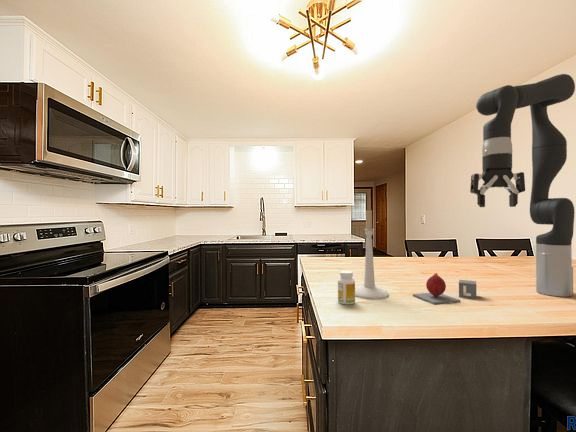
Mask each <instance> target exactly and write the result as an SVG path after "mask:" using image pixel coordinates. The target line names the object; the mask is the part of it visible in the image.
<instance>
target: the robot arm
mask: <svg viewBox="0 0 576 432" xmlns="http://www.w3.org/2000/svg"><path fill="white" fill-rule="evenodd" d="M575 90H576V84H575V81H574V77H572V76H571V75H569V74H568V73H562V74H557V75H553V76H551V77H548V78H546V79H543V80H540V81H537V82H534V83H528V84H520V85H514V86H513V85H510V84H508V85H503V86H500V87H498V88H495V89H493V90H491V91H490V90H489V91H487V92H486V93H483V94H482V95H480V96H479V98H478V99H477V100H476V105H475V107H476V110H477V112H478V113H479V114H480V115H482V116H485V117H486V116H487V117H489V116H492V115H495V116H494V117H493V118H492V119H490V120H488V121H487V122H485V123H484V125H483V127H482V128H483V129H482V138H483V140H482V142H483V144H482V147H481V148H482V150H481V151H482V152H481V153H482V154H481V155H482V158H481V159H482V162H481V164H482V174H481V173H478V172H477V173H476V172H475V173H473V174H471V176H470V188H469V189H470V193H471V194H475V195H476V196H477V205H478V206H479V208H485V207H486V195H485V193H486V192H487V191H488V190H489V189H490V188H492V189H493V188H504V189H505V190H506V191H507V192H508V193H509V195H508V197H509V198H508V201H509V203H508V205H509V207H510V208H515V207H516V206H518V204H519V202H518V199H519V196H518V195H519V194H520V193H523V192H526V181H525V172H523V171H521V172H515V173H513V142H512V122H513V119H514V116H515V113H516V110H517V109H523V108H526V107H529V110H530V116H531V118H530V119H531V131H532V132H531V136H532V137H531V139H532V140H531V162H532V163H531V164H532V175H531V176H532V179H531V180H532V181H531V191H530V201H529V215H530V219H531V221H532V222H533V223H534V224H536V225H547V226H548V225H549V226H551V225H552V229H551V230H550V231H548V232H545V233H542V234H539V235H536V238H535V261H536V262H535V263H536V265H535V268H536V269H535V271H536V272H535V275H536V276H535V278H536V281H535V282H536V283H535V285H536V286H535V287H536V289H535V291H536V292H537V293H538V294H543V295H547V296H552V297H565V298H566V297H572V295H574V267H573V264H572V262H573V261H572V257H573V255H572V241H573V237H574V224H575V206H574V203H573V201H572V200H571V199H570V198H567V197H557V198H556V197H554V198H552V197H551V198H549V195H550V194H549V193H550V187H551V186H552V183H553V181H554V180H555V178H556V176H558V174H559V173H560V171H561V170H562V169H563V167H564V166H565V164H566V162H567V157H568V150H567V149H568V142H567V139H566V136H564V134H563V133H562V132H561V131H560V130H559V129H558V128H557V127H556V126H555V125H554V124H553V122H552V121H551V120H550V118H549V116H548V107H549V106H553V105H556V104H560V103H563V102H565V101H567V100H569V99H570V98H572V97H573V96H574V94H575ZM512 179H513V180H514V181H515V184H514V182H512ZM480 180H483V183H482V185H481V186H480V188H479V181H480Z"/></svg>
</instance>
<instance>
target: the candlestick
mask: <svg viewBox="0 0 576 432" xmlns="http://www.w3.org/2000/svg"><path fill="white" fill-rule="evenodd" d="M365 213H366V214H365V222H366V223H365V224H366V225H365V228H363V230H364V231H365V233H364V234H365V235H366V239H365V257H364V258H365V260H364V261H365V263H364V282H363V285H360V286H355V298H358V299H363V300H364V299H366V300H381V299H386V298H388V297H389V295H390V294H389V292H388V291H387V290H386V289H384V288H382V287H379V286H377V285H376V283H375V269H374V267H375V265H374V252H373V250H374V249H373V238H372V237H373V235H374V231H375V228H373V210H372V209H371V210H370V209H368V210H365Z"/></svg>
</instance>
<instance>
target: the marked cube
mask: <svg viewBox="0 0 576 432" xmlns="http://www.w3.org/2000/svg"><path fill="white" fill-rule="evenodd" d="M458 297H459V298H463V297H465V299H471V298H472V299H473V300H477V281H475V280H468V279H467V280H466V279H459V280H458Z"/></svg>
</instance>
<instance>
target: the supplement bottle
mask: <svg viewBox="0 0 576 432" xmlns="http://www.w3.org/2000/svg"><path fill="white" fill-rule="evenodd" d="M353 275H354V273H353V271H351V270H341V271H339V276H340V277H339V278H338V279H337V302H338V304H341V305H354V304H355V303H356V297H355V288H356V281H355V279H354V278H353Z"/></svg>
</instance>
